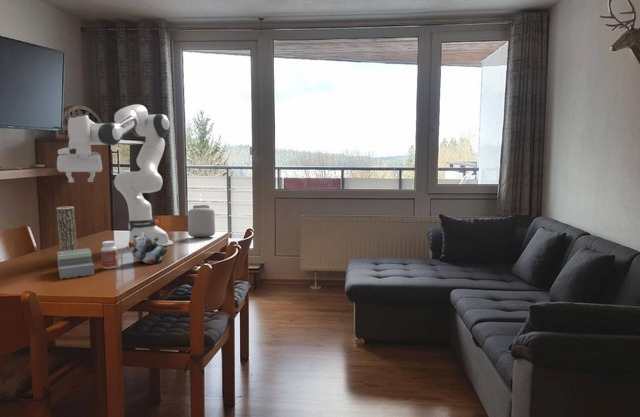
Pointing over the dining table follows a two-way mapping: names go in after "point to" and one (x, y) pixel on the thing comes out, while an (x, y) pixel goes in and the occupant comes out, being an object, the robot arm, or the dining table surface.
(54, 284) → the dining table surface
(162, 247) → the blue-grey lumpy figure
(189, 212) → the jar
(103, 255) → the pill bottle
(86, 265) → the stepped stand
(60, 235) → the bark log
